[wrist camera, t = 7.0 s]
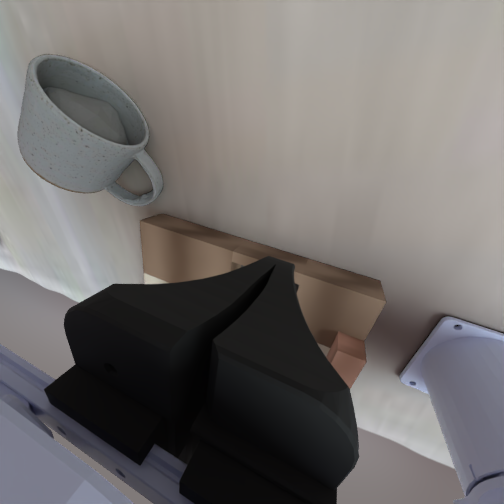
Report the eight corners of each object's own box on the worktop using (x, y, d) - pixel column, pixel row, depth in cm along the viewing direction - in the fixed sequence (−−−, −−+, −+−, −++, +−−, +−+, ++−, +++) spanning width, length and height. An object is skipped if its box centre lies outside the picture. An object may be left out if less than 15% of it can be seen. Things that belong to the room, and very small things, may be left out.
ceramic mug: (81, 134, 24) (-20, 127, 17) (114, 70, 19) (-2, 29, 13) (143, 217, 25) (73, 241, 19) (186, 174, 21) (115, 185, 14)
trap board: (380, 280, 18) (391, 320, 14) (316, 404, 26) (311, 453, 22) (161, 213, 24) (121, 226, 19) (165, 332, 32) (137, 359, 27)
